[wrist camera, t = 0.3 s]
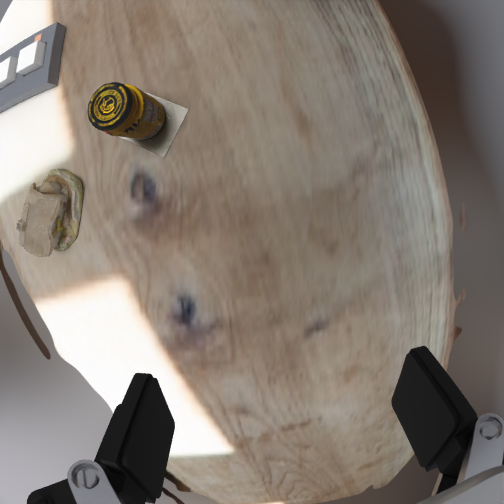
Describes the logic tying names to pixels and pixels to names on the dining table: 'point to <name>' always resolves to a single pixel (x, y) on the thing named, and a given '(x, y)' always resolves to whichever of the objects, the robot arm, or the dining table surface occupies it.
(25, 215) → the ceramic model
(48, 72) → the keypad
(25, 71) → the key
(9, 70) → the key
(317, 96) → the dining table surface
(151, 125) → the condiment
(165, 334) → the dining table surface
